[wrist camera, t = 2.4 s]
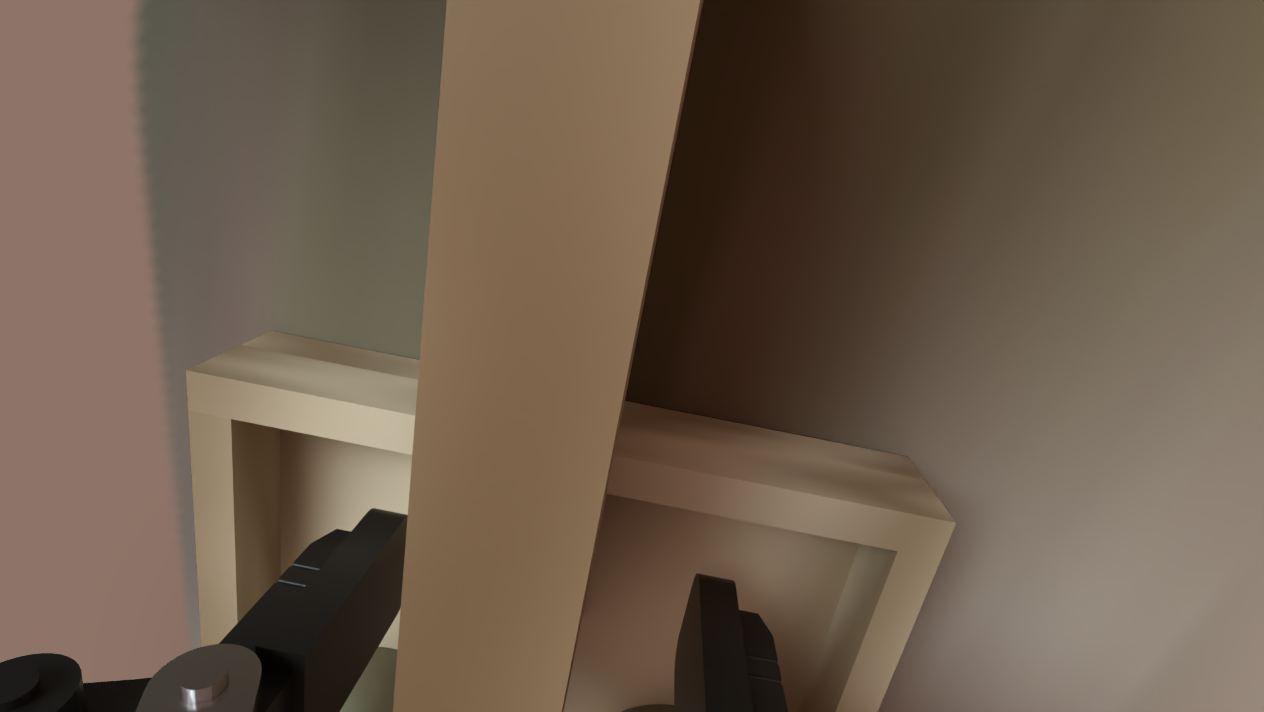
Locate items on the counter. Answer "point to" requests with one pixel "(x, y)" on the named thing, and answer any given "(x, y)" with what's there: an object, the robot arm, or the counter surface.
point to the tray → (552, 421)
